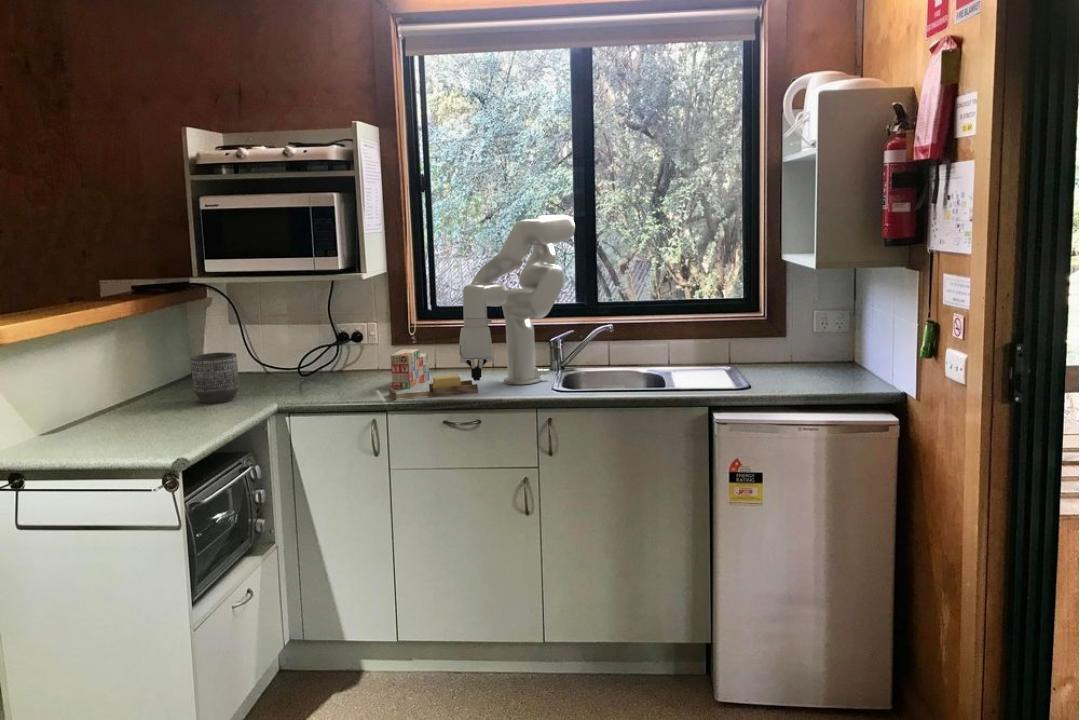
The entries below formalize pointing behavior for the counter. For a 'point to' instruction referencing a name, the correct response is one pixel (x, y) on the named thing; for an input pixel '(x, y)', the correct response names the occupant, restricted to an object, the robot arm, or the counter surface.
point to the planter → (215, 377)
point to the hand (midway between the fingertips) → (476, 379)
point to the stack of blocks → (409, 368)
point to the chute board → (437, 391)
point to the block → (446, 381)
